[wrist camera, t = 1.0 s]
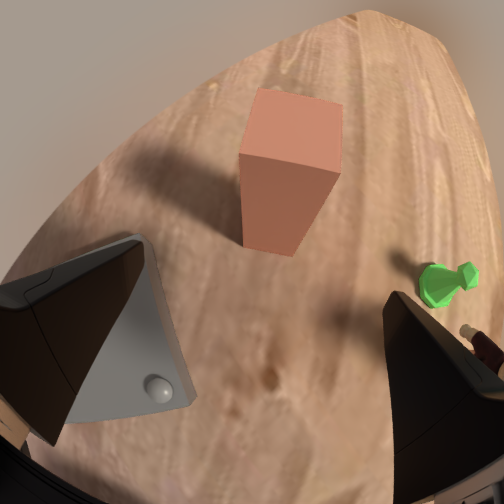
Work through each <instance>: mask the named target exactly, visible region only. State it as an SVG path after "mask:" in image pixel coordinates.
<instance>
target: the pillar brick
mask: <svg viewBox="0 0 504 504" xmlns="http://www.w3.org/2000/svg"><path fill="white" fill-rule="evenodd" d="M342 126H343V105H341V104H337V103H333V102H329V101H325V100H321V99H317V98H312V97H308V96H303V95H298V94H293V93H287V92H282V91H276V90H269V89H263V88H258V89H257V93H256V96H255V99H254V102H253V106H252V109H251V112H250V116H249V119H248V123H247V126H246V130H245V133H244V137H243V140H242V144H241V147H240V151H239V167H240V188H241V208H242V228H243V247H244V248H250V249H255V250H260V251H265V252H270V253H275V254H280V255H285V256H291V257H292V256H293V255H294V253H295V251H296V250H297V248H298V246H299V245H300V243H301V241H302V240H303V238H304V236H305V235H306V233H307V231H308V229H309V228H310V226H311V224H312V223H313V221H314V219H315V218H316V216H317V214H318V212H319V211H320V209H321V207H322V206H323V204H324V202H325V200H326V199H327V197H328V195H329V193H330V192H331V190H332V188H333V186H334V185H335V183H336V181H337V179H338V177H339V176H340V174H341V158H342Z"/></svg>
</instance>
